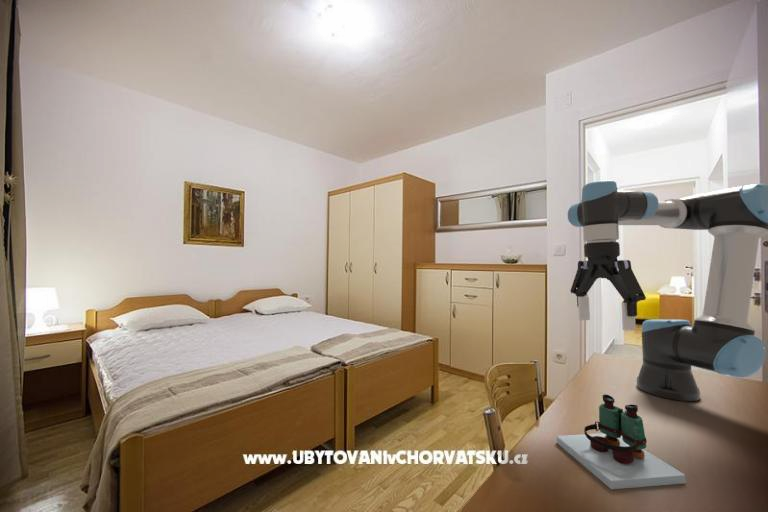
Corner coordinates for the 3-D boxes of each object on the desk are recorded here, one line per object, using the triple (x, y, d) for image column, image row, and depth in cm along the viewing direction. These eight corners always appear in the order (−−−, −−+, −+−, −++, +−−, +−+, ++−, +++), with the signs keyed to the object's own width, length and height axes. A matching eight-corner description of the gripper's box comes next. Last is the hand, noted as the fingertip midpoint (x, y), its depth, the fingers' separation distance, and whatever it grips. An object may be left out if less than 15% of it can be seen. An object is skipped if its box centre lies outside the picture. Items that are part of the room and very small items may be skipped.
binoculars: (574, 401, 67) (604, 389, 71) (579, 450, 67) (608, 436, 71) (620, 420, 59) (651, 406, 62) (625, 476, 59) (656, 458, 63)
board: (616, 438, 73) (616, 432, 73) (685, 483, 58) (685, 475, 58) (556, 442, 71) (556, 436, 71) (611, 489, 56) (611, 480, 56)
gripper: (663, 237, 69) (668, 334, 68) (577, 244, 94) (580, 315, 93) (633, 238, 68) (638, 336, 67) (554, 245, 92) (558, 317, 92)
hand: (604, 324), depth 80 cm, fingers open, 13 cm apart
